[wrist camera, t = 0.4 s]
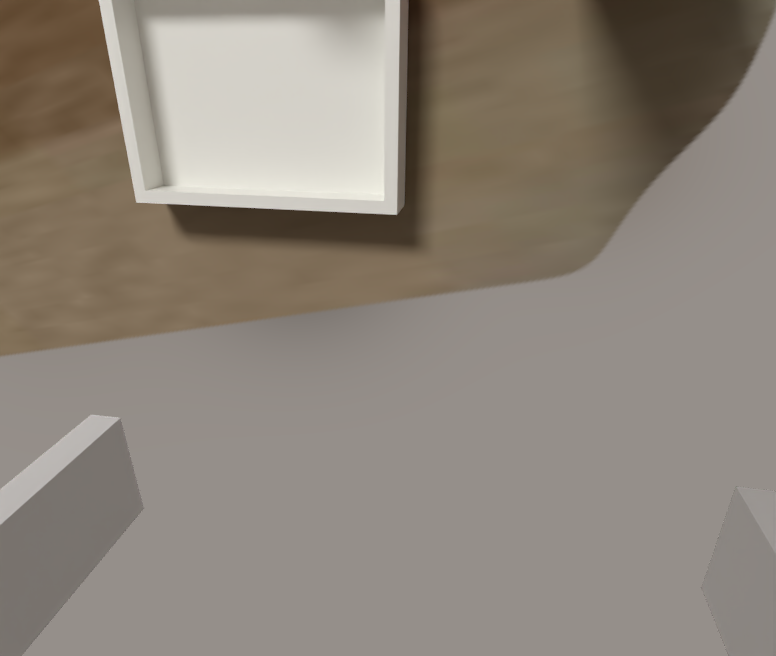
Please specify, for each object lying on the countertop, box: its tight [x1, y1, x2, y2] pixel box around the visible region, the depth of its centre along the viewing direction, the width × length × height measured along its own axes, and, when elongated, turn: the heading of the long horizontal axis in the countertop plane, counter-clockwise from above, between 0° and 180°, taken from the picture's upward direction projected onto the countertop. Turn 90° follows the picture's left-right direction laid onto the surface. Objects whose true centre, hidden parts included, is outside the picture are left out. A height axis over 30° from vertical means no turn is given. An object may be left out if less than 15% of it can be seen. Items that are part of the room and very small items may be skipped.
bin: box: [99, 0, 409, 215], centre depth 33 cm, size 14×18×3 cm
